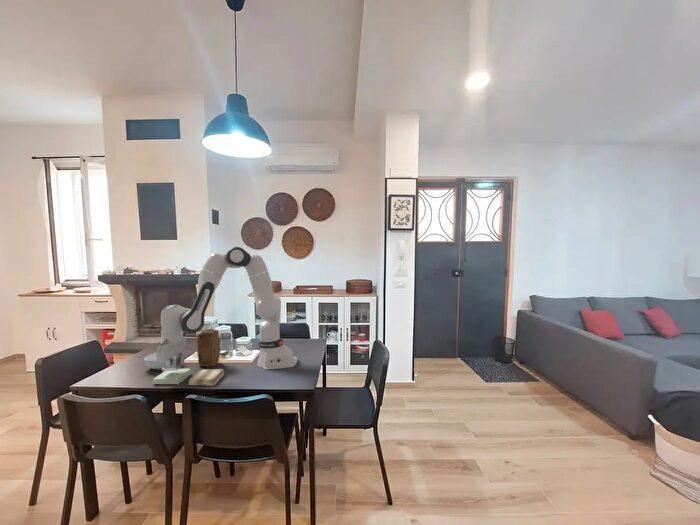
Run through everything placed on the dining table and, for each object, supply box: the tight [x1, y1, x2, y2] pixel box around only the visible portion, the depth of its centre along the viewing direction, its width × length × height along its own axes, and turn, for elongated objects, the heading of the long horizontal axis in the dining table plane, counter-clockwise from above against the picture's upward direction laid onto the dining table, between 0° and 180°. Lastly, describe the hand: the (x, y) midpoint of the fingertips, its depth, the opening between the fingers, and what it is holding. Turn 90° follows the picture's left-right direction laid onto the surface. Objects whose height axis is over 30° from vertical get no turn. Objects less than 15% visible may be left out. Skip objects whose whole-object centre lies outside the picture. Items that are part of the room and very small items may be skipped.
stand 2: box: [188, 368, 225, 386], centre depth 145 cm, size 12×12×3 cm
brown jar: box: [196, 328, 221, 368], centre depth 164 cm, size 11×8×20 cm
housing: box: [161, 351, 183, 372], centre depth 146 cm, size 7×6×7 cm
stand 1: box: [152, 368, 192, 385], centre depth 146 cm, size 12×12×3 cm
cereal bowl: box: [143, 351, 164, 370], centre depth 162 cm, size 17×17×7 cm
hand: (172, 363), depth 146 cm, fingers closed on housing, 5 cm apart
